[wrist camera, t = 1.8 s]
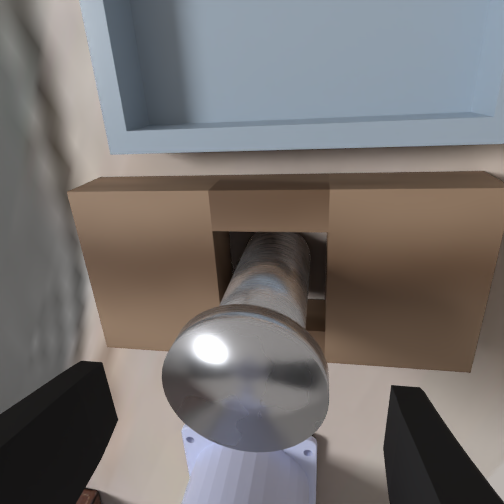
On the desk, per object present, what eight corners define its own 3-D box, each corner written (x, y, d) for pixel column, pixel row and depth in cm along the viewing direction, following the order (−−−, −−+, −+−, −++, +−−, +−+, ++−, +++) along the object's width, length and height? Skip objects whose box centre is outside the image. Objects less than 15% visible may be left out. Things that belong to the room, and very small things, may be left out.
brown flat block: (451, 334, 17) (470, 372, 15) (131, 317, 20) (107, 347, 18) (483, 171, 14) (513, 187, 12) (100, 177, 17) (66, 191, 15)
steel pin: (325, 299, 18) (326, 460, 10) (234, 296, 19) (174, 443, 11) (327, 210, 16) (331, 327, 8) (227, 210, 17) (149, 317, 9)
